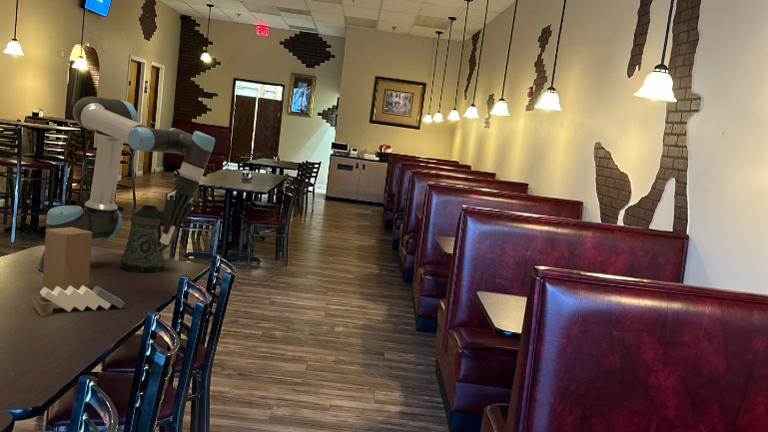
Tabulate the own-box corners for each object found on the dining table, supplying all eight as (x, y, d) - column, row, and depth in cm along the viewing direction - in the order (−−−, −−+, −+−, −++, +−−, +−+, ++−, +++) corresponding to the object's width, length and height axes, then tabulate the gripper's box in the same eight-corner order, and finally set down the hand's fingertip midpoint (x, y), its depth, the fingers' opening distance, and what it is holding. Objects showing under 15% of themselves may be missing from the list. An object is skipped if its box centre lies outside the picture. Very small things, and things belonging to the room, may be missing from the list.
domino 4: (106, 299, 202) (82, 284, 197) (111, 304, 199) (86, 289, 193) (102, 305, 202) (78, 290, 197) (107, 309, 198) (82, 294, 193)
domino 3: (94, 300, 200) (69, 285, 195) (99, 304, 196) (73, 289, 191) (90, 305, 200) (65, 290, 195) (94, 310, 196) (69, 295, 191)
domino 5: (120, 299, 205) (95, 285, 200) (125, 303, 201) (100, 289, 196) (116, 304, 204) (91, 290, 199) (121, 308, 201) (96, 294, 195)
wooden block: (88, 290, 216) (92, 231, 214) (62, 295, 207) (66, 233, 205) (68, 284, 221) (71, 226, 218) (41, 289, 211) (45, 228, 209)
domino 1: (70, 301, 196) (44, 286, 191) (74, 306, 192) (47, 290, 187) (65, 307, 195) (39, 292, 190) (69, 311, 191) (42, 296, 186)
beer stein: (119, 263, 260) (123, 201, 257) (169, 264, 268) (174, 205, 265) (120, 272, 245) (125, 207, 242) (174, 273, 253) (179, 210, 250)
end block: (45, 306, 194) (46, 295, 193) (52, 315, 187) (53, 303, 186) (34, 307, 192) (35, 295, 192) (40, 315, 185) (41, 303, 185)
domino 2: (82, 301, 198) (57, 285, 193) (86, 305, 194) (60, 290, 189) (78, 306, 198) (52, 291, 192) (82, 311, 194) (56, 295, 189)
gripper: (193, 177, 223) (169, 240, 224) (167, 170, 211) (142, 237, 212) (209, 184, 220) (185, 248, 221) (184, 177, 208) (158, 245, 209)
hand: (164, 243), depth 216 cm, fingers closed
